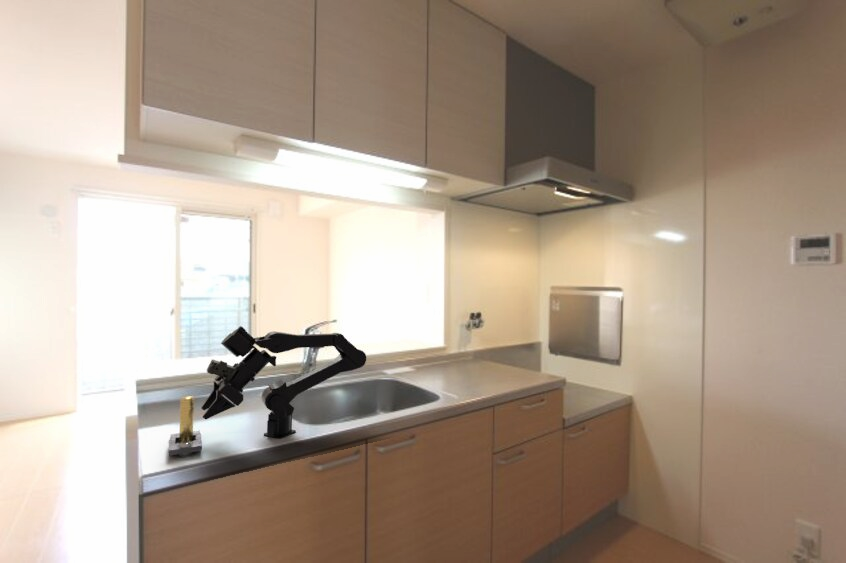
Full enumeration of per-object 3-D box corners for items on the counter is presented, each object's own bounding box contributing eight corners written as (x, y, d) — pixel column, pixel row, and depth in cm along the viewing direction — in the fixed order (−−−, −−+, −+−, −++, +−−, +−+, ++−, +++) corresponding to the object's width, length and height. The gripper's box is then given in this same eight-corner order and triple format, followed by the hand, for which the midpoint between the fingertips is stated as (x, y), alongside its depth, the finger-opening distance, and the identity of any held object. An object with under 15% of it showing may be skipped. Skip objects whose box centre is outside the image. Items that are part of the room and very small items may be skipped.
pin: (187, 445, 106) (188, 396, 106) (195, 447, 105) (196, 397, 105) (176, 449, 103) (177, 398, 104) (184, 451, 102) (185, 399, 102)
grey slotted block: (170, 438, 111) (171, 427, 111) (199, 434, 114) (199, 424, 114) (168, 460, 96) (168, 448, 96) (201, 455, 100) (202, 443, 100)
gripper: (223, 345, 117) (178, 387, 111) (230, 353, 101) (178, 403, 95) (252, 369, 121) (210, 411, 115) (262, 381, 105) (214, 430, 99)
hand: (203, 413), depth 106 cm, fingers open, 9 cm apart
